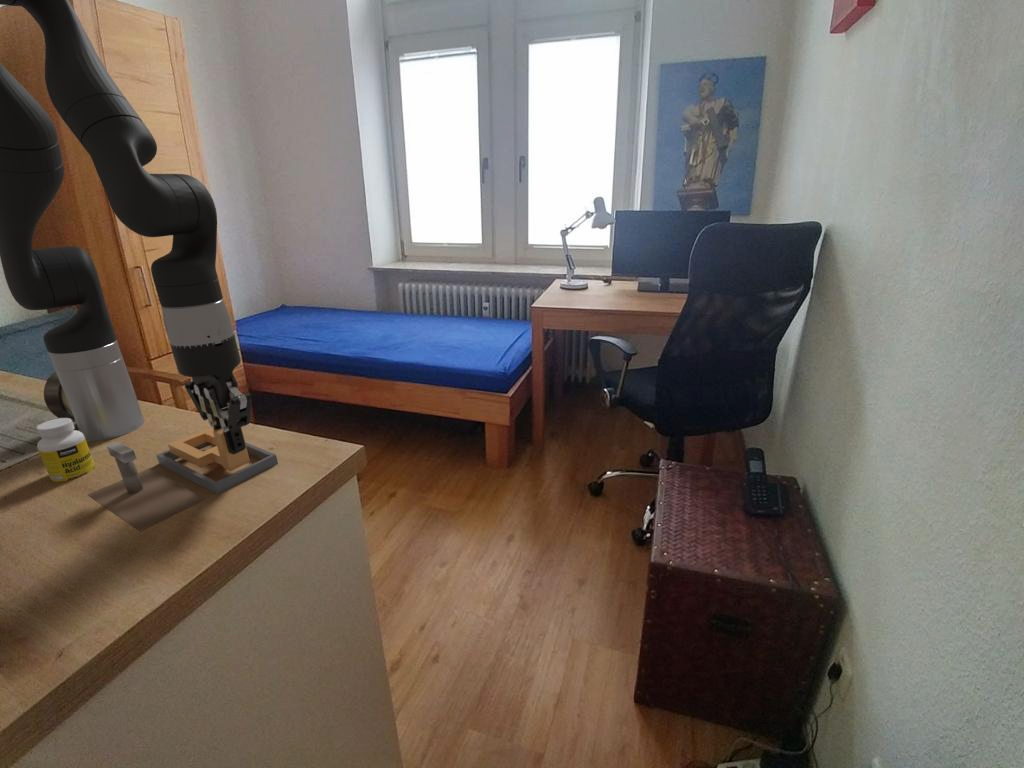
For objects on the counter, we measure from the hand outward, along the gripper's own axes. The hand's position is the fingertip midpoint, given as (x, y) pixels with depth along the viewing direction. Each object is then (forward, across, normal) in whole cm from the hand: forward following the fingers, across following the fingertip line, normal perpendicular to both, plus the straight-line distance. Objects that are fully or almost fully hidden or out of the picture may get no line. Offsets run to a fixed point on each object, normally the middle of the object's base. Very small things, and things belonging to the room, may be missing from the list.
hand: (233, 449), depth 73 cm
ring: (+3, -6, 0) cm, 7 cm away
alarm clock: (+6, -46, -3) cm, 46 cm away
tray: (+6, -6, 0) cm, 8 cm away
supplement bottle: (+6, -24, -13) cm, 27 cm away
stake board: (+6, -6, -10) cm, 13 cm away
